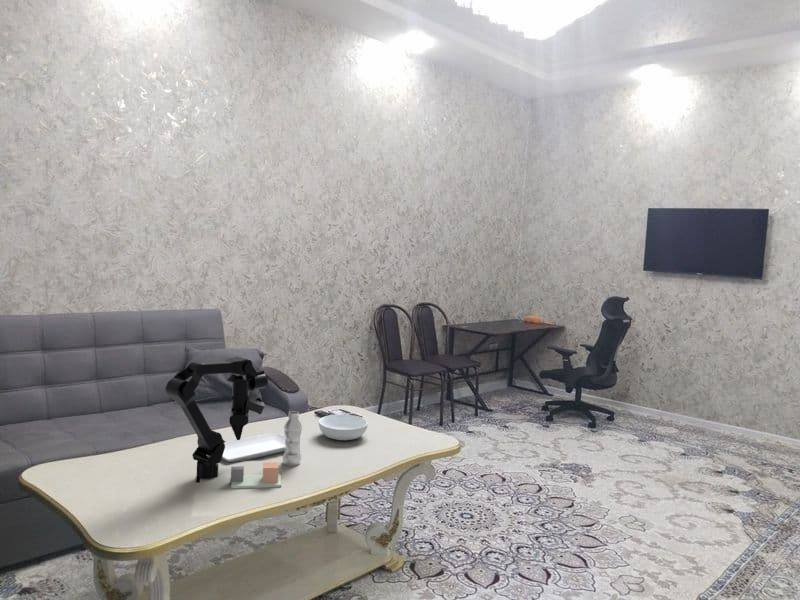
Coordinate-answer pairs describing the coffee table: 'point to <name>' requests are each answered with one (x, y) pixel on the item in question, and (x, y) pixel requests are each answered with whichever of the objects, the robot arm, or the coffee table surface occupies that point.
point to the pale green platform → (249, 479)
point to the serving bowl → (343, 426)
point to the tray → (254, 447)
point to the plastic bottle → (292, 440)
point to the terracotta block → (270, 472)
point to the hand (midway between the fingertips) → (238, 435)
